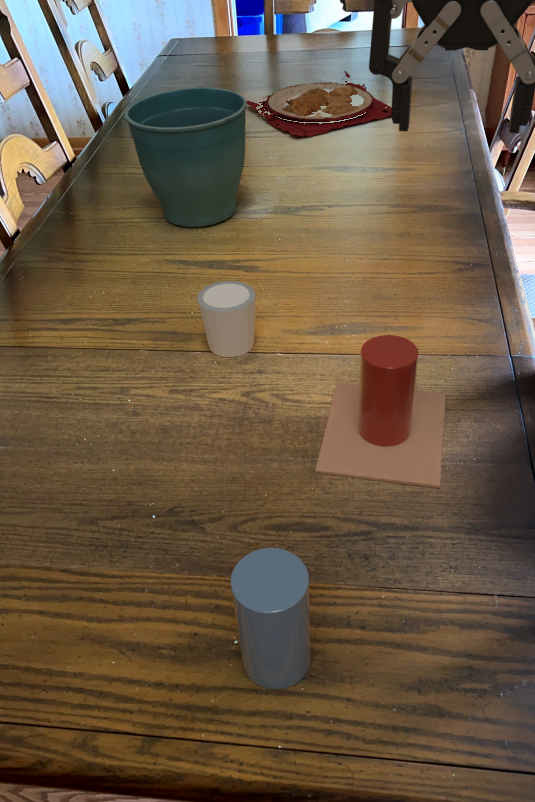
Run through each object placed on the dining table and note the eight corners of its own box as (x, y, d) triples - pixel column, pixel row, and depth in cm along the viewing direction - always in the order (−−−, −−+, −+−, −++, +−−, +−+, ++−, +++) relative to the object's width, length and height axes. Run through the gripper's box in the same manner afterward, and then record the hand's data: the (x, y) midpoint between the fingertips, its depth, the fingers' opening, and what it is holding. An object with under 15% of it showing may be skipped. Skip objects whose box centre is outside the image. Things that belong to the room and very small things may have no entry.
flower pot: (148, 246, 109) (128, 134, 98) (140, 198, 123) (121, 95, 112) (264, 228, 111) (256, 117, 100) (243, 183, 125) (235, 81, 114)
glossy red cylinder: (412, 414, 76) (420, 337, 69) (408, 449, 72) (416, 370, 65) (361, 409, 77) (364, 332, 70) (354, 443, 73) (357, 365, 66)
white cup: (231, 367, 84) (226, 317, 80) (192, 346, 88) (184, 297, 84) (270, 341, 88) (267, 291, 84) (231, 321, 92) (226, 274, 87)
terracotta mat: (445, 395, 78) (446, 392, 78) (439, 488, 68) (440, 485, 68) (336, 385, 81) (336, 382, 81) (315, 473, 70) (315, 470, 70)
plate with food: (243, 109, 156) (242, 93, 154) (344, 84, 164) (344, 68, 161) (294, 143, 140) (294, 126, 137) (404, 114, 147) (405, 96, 145)
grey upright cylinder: (317, 632, 57) (315, 553, 51) (304, 695, 53) (300, 618, 47) (251, 620, 58) (241, 542, 52) (234, 682, 54) (221, 605, 48)
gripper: (593, -131, 48) (548, 115, 59) (382, -119, 51) (374, 112, 62) (607, -120, 43) (554, 149, 53) (369, -108, 46) (362, 144, 56)
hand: (457, 129), depth 57 cm, fingers open, 8 cm apart
